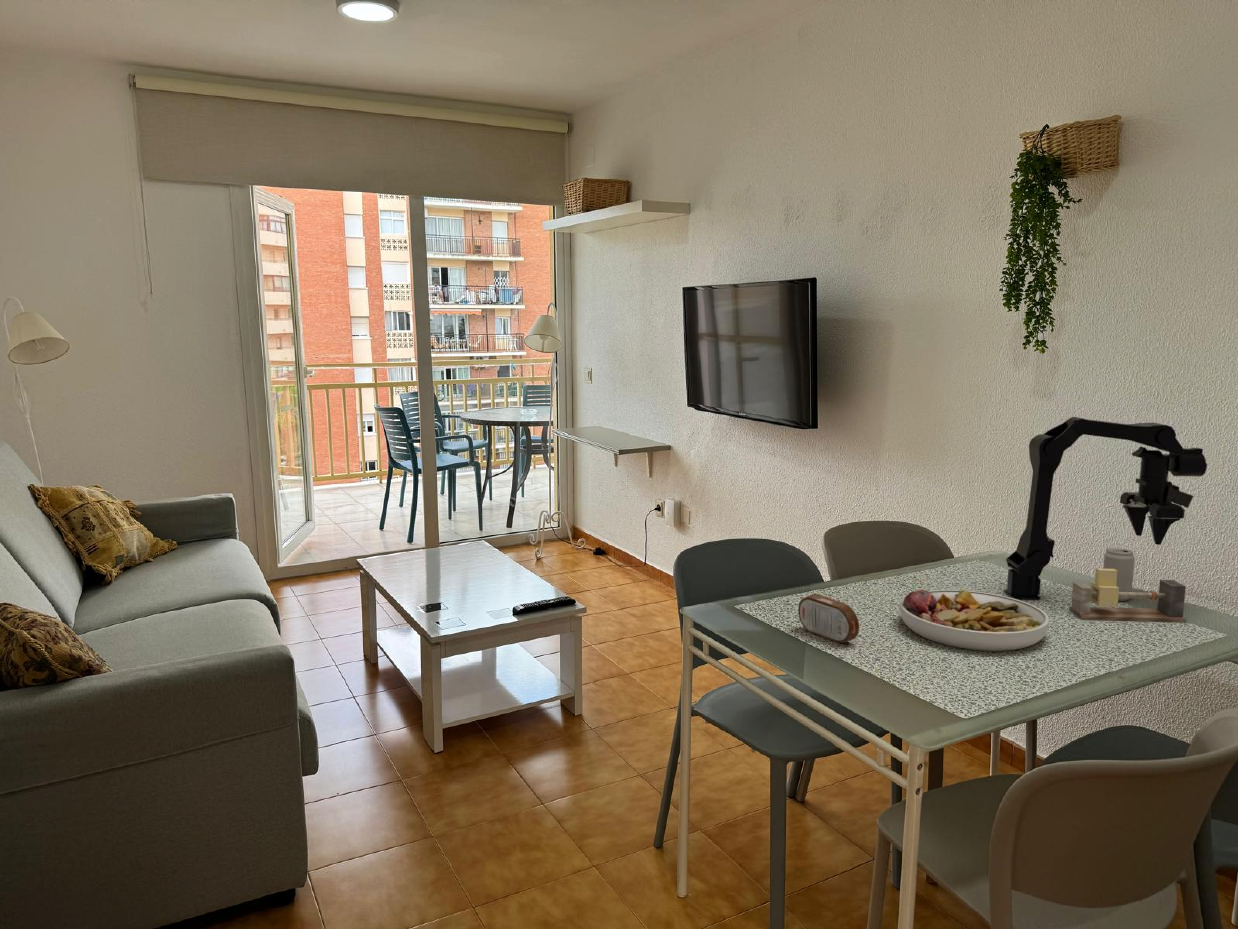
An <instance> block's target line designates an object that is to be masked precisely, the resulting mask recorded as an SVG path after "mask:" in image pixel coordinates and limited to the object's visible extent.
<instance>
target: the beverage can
mask: <svg viewBox="0 0 1238 929" xmlns="http://www.w3.org/2000/svg"><path fill="white" fill-rule="evenodd" d="M1103 555H1104V557H1103V558H1104V559H1103V566H1102V567H1103V568H1102V569H1115V570H1117V582H1116V586H1117V587H1118V588H1119V592H1133V582H1134V571H1135V570H1134V569H1135V555H1134V551H1133V550H1131V549H1128V548H1127V549H1126V548H1120V547H1119V548H1118V547H1111V548H1110V547H1109V548H1108V547H1107V549H1106V552H1105V553H1104V554H1103ZM1129 599H1130V600H1131V598H1129V597H1118V602H1128V601H1129Z"/></svg>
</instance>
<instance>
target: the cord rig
mask: <svg viewBox="0 0 1238 929" xmlns="http://www.w3.org/2000/svg"><path fill="white" fill-rule="evenodd" d="M1186 589H1187V587H1186V585H1184V584H1182V583H1180V582H1178V581H1176V580H1174V579H1159V585H1158V592H1157V591H1156V590H1149V591H1148V592H1140V591H1139V592H1138V591H1137V592H1135V591H1134V592H1133V591H1132V592H1119V594H1118V597H1129V598H1130V599H1131V598H1133V599H1134V598H1137V599H1138V598H1141V599H1149V600H1150V601H1156V600H1157V608H1139V607H1138V608H1136V607H1107V606H1097V607H1096V606H1094V607H1093V606H1091V602H1092V601H1091V597H1098V591H1092V588H1091V587H1090V586H1089V585H1087V584H1086V583H1084V582H1082V581H1073V582H1072V591H1071V592H1072V593H1071V594H1072V595H1071V606H1069V607H1068V609H1069V611H1070V612H1071V613H1072V614H1074V615H1075V616H1077V618H1080V619H1081V620H1082V621H1083V620H1086V621H1087V620H1089V621H1090V620H1091V621H1117V622H1120V621H1121V622H1123V621H1125V622H1129V621H1130V622H1158V623H1159V622H1161V623H1162V622H1164V623H1185V622H1186V618H1184V608H1185V596H1186Z"/></svg>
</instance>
